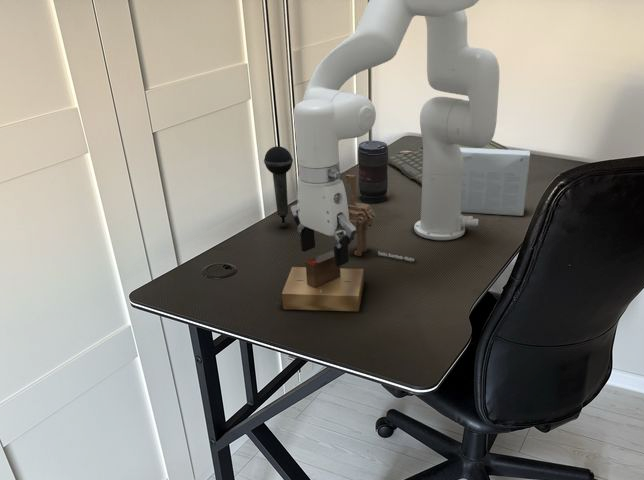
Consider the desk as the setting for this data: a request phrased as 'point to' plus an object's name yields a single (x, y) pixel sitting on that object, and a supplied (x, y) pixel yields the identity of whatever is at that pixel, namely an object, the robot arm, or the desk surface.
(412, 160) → the computer keyboard
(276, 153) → the microphone
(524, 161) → the skincare box
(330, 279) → the arm
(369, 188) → the camera lens
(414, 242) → the desk surface
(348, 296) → the wooden dial board
